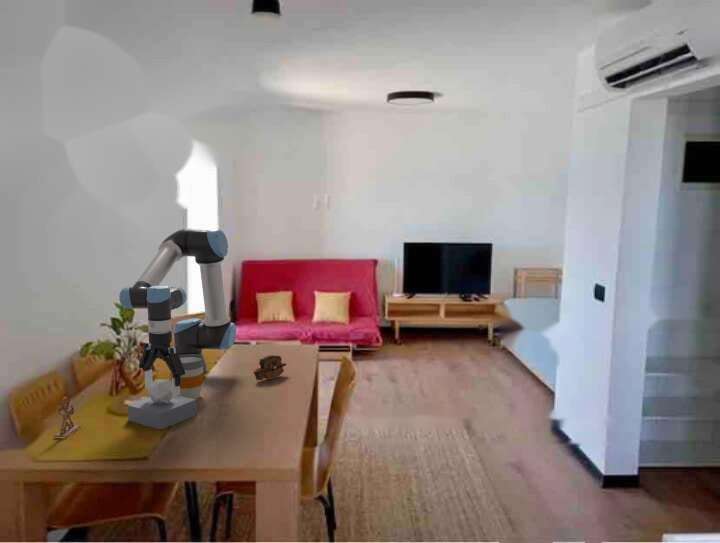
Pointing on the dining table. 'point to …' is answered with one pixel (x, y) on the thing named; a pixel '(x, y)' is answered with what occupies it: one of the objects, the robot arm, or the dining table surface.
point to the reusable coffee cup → (191, 376)
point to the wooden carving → (269, 368)
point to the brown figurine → (71, 427)
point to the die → (161, 391)
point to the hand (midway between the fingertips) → (162, 391)
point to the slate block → (162, 411)
